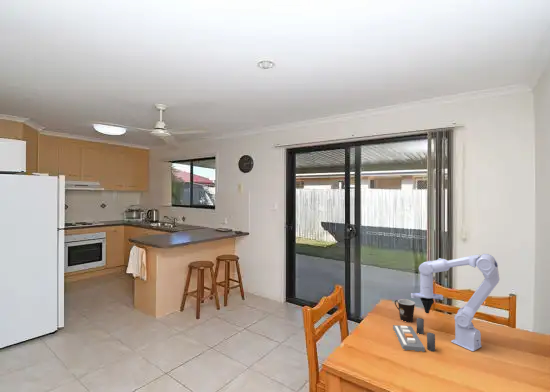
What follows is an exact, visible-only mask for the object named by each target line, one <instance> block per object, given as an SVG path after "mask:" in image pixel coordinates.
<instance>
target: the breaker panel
mask: <svg viewBox="0 0 550 392" xmlns="http://www.w3.org/2000/svg"><path fill="white" fill-rule="evenodd" d="M393 329H394V330H393ZM392 330H393V331H395V332H394V333H396V334H395V336H396V335H397V336H396V338H397V337H398V338H397V339H398V342H399V344H400V346H401V348H402V350H403V349H405V350H404V351H407V350H415V351H414V352H419V351H422V352H423V353H425V351H426V350H425V349H426V348H425V346H424V344H423V343H422V341H421V339H420V338H419V337H418V334H417V332H415V330H414V328H413V327H412V326H411V325H399V324H398V325H395V324H393V325H392Z"/></svg>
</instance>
